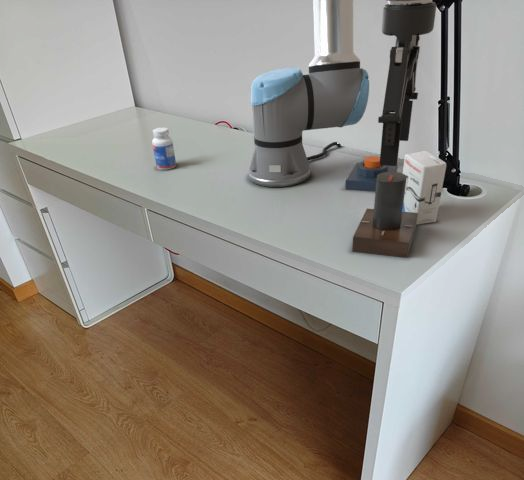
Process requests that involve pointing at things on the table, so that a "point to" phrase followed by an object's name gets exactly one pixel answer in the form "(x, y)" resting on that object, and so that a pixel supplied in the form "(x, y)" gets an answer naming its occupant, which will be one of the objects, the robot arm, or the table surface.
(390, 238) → the block
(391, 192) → the dial knob
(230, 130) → the table surface
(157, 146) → the pill bottle
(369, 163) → the button
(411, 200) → the ink box
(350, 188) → the button box
